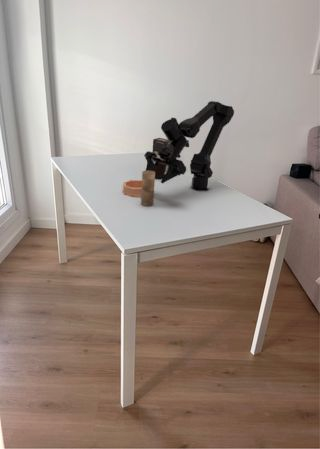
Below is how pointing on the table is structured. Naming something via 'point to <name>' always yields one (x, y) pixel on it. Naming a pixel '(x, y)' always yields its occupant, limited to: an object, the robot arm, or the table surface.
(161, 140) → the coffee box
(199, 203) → the table surface
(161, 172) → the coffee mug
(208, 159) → the robot arm
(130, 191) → the terracotta dish
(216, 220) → the table surface
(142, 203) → the walnut peg
